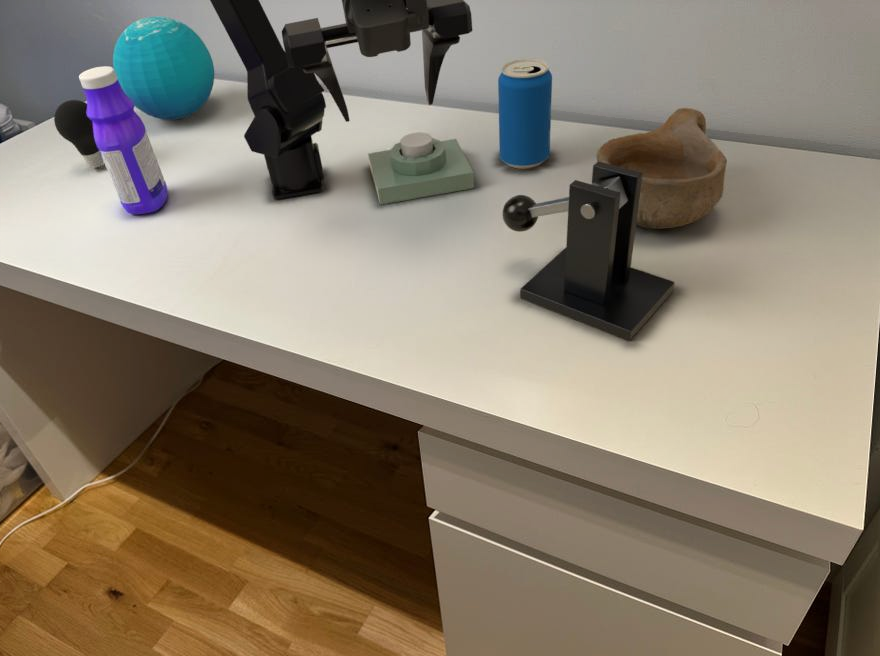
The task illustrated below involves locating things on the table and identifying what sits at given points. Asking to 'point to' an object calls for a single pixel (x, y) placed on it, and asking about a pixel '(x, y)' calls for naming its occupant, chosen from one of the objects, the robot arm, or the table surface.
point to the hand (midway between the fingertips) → (388, 112)
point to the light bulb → (78, 130)
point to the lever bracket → (600, 261)
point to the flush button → (416, 145)
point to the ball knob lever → (547, 206)
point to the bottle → (123, 142)
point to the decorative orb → (163, 67)
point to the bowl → (672, 169)
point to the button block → (420, 172)
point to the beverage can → (524, 112)
